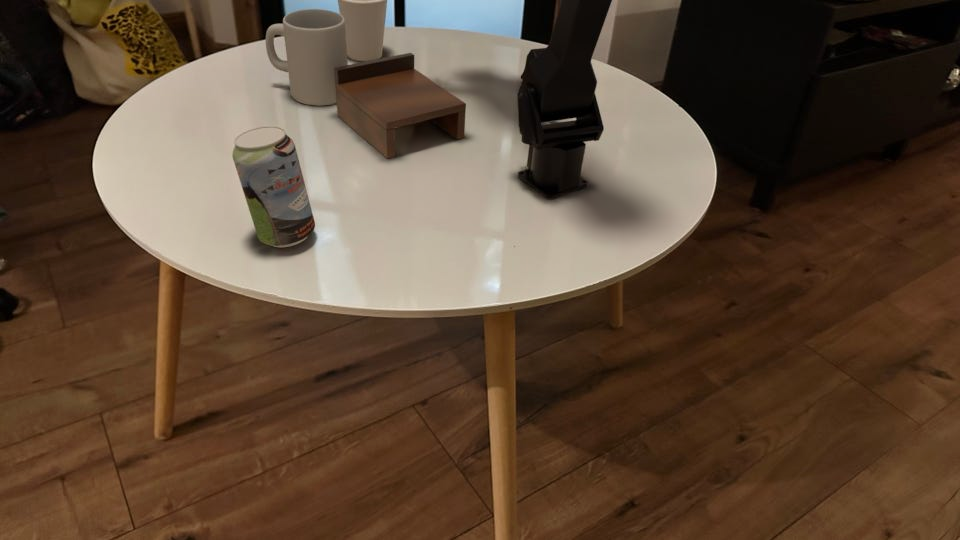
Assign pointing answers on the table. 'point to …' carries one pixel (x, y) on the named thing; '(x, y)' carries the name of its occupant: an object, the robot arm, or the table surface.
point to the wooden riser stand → (393, 100)
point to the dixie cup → (364, 27)
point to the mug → (310, 53)
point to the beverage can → (273, 186)
